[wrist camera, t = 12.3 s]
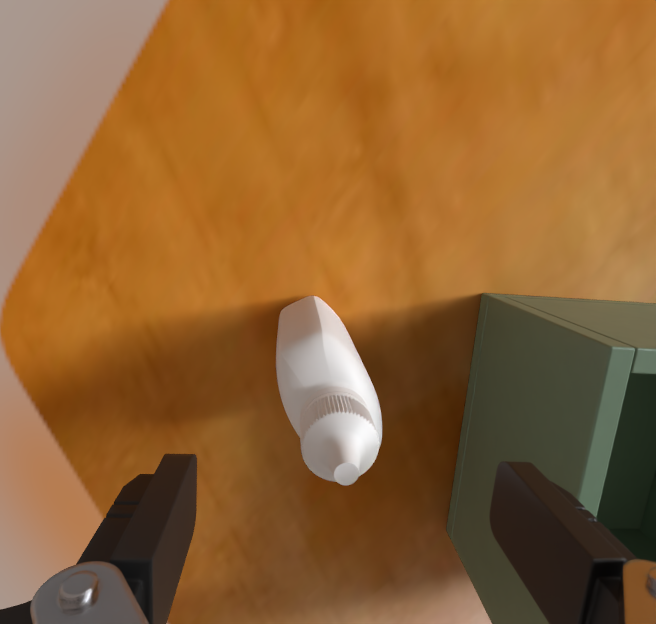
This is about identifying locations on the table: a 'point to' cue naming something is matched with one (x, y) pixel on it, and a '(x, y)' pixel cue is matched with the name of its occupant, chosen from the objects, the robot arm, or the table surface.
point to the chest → (556, 427)
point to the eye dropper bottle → (326, 392)
